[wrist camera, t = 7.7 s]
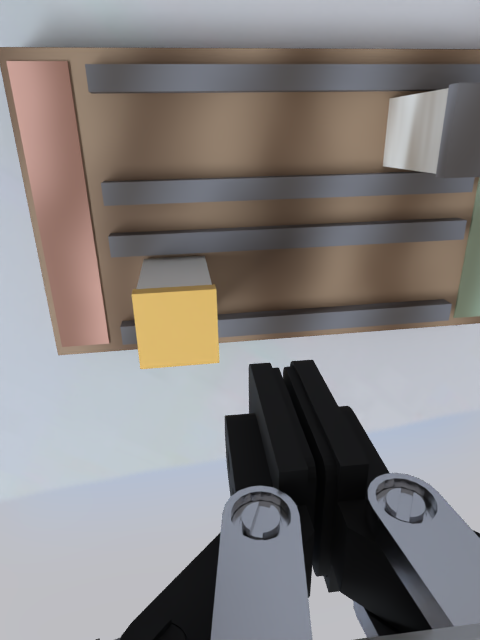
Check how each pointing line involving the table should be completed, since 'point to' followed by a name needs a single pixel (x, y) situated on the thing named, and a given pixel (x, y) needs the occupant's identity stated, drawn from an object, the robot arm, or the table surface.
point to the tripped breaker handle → (175, 313)
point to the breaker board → (252, 184)
